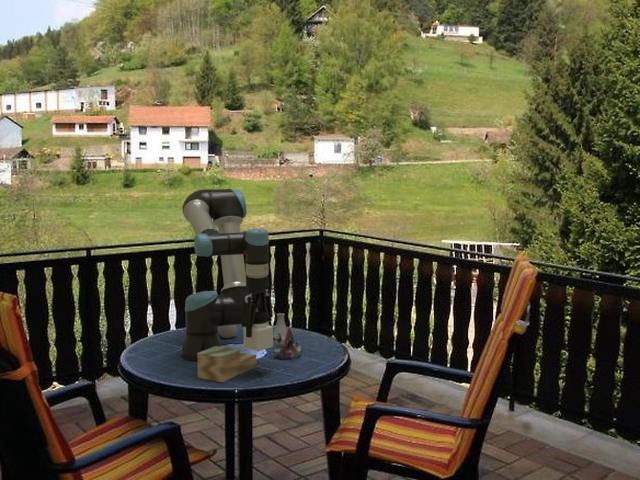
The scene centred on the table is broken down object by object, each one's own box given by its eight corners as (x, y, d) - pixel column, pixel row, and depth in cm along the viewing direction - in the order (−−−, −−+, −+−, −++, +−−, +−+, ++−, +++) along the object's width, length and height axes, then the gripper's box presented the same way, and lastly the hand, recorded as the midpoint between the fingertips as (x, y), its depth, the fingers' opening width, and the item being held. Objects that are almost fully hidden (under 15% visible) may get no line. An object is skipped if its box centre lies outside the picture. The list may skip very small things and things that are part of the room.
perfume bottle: (229, 340, 258) (229, 311, 257) (210, 337, 263) (210, 309, 262) (240, 336, 264) (240, 308, 263) (222, 333, 269) (221, 305, 268)
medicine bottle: (273, 347, 214) (273, 312, 212) (257, 351, 208) (257, 316, 207) (258, 342, 218) (258, 308, 217) (243, 347, 213) (242, 312, 212)
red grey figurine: (301, 355, 228) (282, 327, 229) (278, 371, 231) (259, 344, 232) (310, 347, 239) (292, 321, 240) (288, 363, 242) (270, 337, 243)
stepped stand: (197, 377, 211) (197, 353, 210) (232, 362, 228) (232, 339, 228) (222, 382, 206) (222, 356, 205) (256, 365, 224) (256, 342, 223)
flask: (293, 337, 263) (292, 313, 262) (283, 341, 257) (282, 316, 256) (278, 335, 267) (278, 311, 266) (268, 338, 261) (268, 314, 260)
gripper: (249, 282, 200) (249, 352, 202) (283, 272, 218) (283, 336, 221) (229, 280, 203) (230, 349, 206) (264, 270, 222) (264, 334, 224)
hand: (257, 342), depth 213 cm, fingers closed on medicine bottle, 8 cm apart
